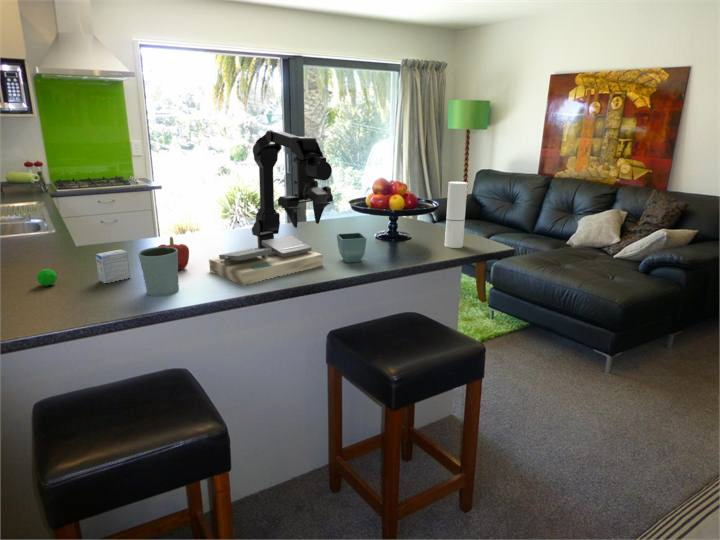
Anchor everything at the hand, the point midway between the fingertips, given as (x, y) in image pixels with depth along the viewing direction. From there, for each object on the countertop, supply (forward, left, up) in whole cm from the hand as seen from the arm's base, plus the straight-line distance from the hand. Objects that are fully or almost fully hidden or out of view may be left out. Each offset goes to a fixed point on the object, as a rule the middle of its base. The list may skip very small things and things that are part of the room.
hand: (306, 225), depth 159 cm
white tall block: (+16, +61, -15) cm, 65 cm away
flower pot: (+4, +16, -15) cm, 22 cm away
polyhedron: (-37, -68, -15) cm, 78 cm away
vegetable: (-28, -34, -15) cm, 46 cm away
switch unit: (-8, -11, -14) cm, 19 cm away
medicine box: (-29, -52, -15) cm, 61 cm away
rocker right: (-8, -3, -8) cm, 12 cm away
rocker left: (-8, -19, -8) cm, 22 cm away
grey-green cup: (-9, -46, -15) cm, 49 cm away
